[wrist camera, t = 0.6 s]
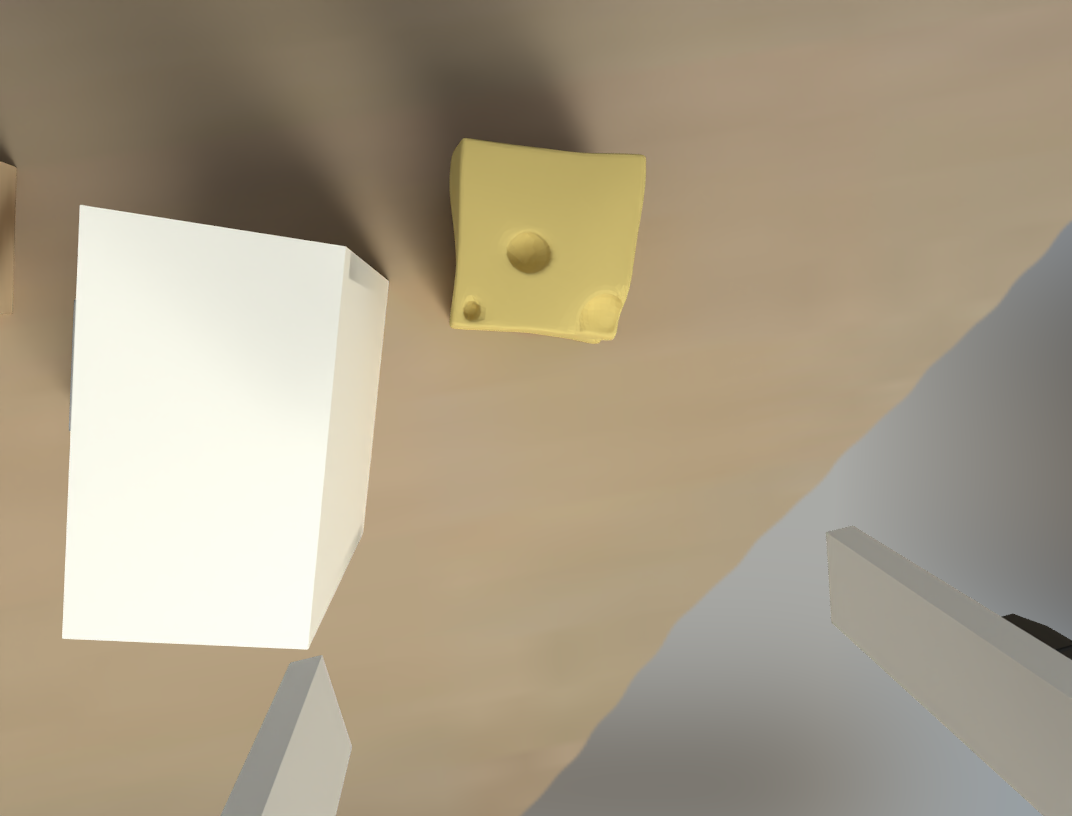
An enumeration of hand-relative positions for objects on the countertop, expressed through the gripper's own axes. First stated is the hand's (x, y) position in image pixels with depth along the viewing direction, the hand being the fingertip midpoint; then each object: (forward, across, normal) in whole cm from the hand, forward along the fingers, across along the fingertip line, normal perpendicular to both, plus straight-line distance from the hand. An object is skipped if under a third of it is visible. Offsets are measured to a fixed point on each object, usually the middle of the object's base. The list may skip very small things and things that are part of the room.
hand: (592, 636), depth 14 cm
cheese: (+28, +3, +10) cm, 30 cm away
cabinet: (+27, -17, +5) cm, 32 cm away
